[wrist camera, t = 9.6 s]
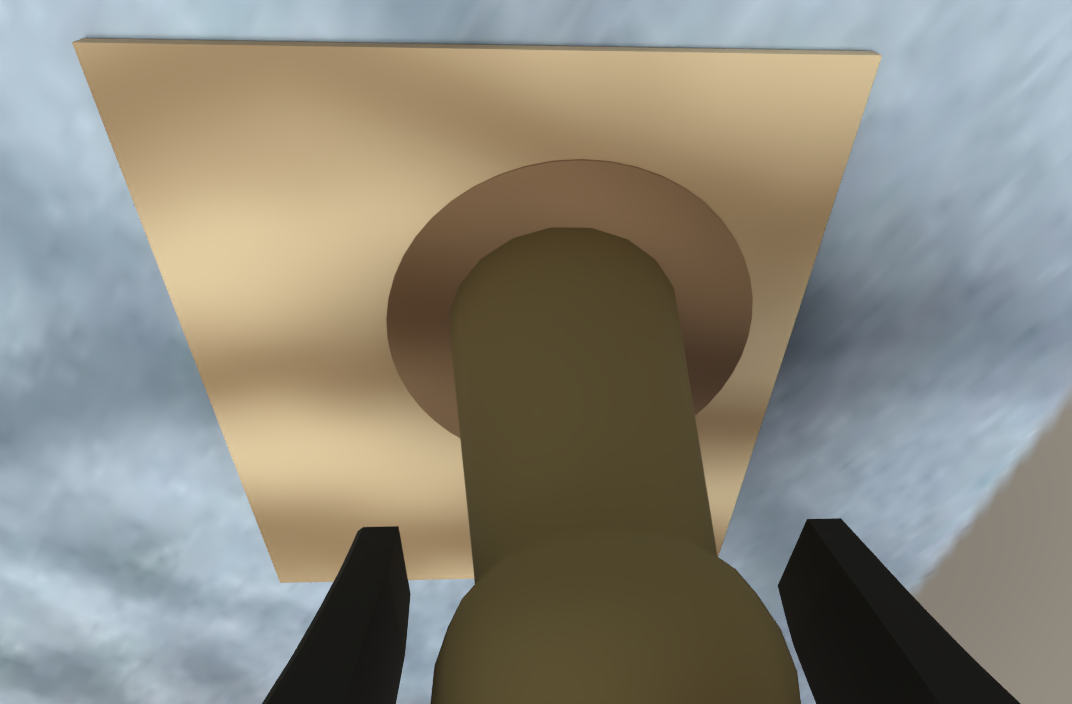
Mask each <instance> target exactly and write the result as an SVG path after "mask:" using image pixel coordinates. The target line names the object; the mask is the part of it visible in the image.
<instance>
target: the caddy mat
mask: <svg viewBox="0 0 1072 704" xmlns="http://www.w3.org/2000/svg"><path fill="white" fill-rule="evenodd" d="M72 44H73V46H74V49H75V51H76V54H77V56H78V59H79V62H80V64H81V67H82V69H83V72H84V75H85V77H86V80H87V82H88V85H89V88H90V90H91V93H92V95H93V98H94V101H95V103H96V106H97V108H98V111H99V114H100V116H101V119H102V121H103V124H104V127H105V129H106V132H107V134H108V137H109V140H110V142H111V145H112V147H113V150H114V152H115V155H116V158H117V160H118V163H119V165H120V168H121V171H122V173H123V176H124V178H125V181H126V184H127V186H128V189H129V191H130V194H131V197H132V199H133V202H134V204H135V207H136V210H137V212H138V215H139V217H140V220H141V223H142V225H143V228H144V230H145V233H146V236H147V238H148V241H149V243H150V246H151V249H152V251H153V254H154V256H155V259H156V261H157V264H158V267H159V269H160V272H161V274H162V277H163V280H164V282H165V285H166V287H167V290H168V293H169V295H170V298H171V300H172V303H173V306H174V308H175V311H176V313H177V316H178V319H179V321H180V324H181V326H182V329H183V332H184V334H185V337H186V339H187V342H188V345H189V347H190V350H191V352H192V355H193V357H194V360H195V363H196V365H197V368H198V370H199V373H200V376H201V378H202V381H203V383H204V386H205V389H206V391H207V394H208V396H209V399H210V402H211V404H212V407H213V409H214V412H215V415H216V417H217V420H218V422H219V425H220V428H221V430H222V433H223V435H224V438H225V441H226V443H227V446H228V448H229V451H230V454H231V456H232V459H233V461H234V464H235V466H236V469H237V472H238V474H239V477H240V479H241V482H242V485H243V487H244V490H245V492H246V495H247V498H248V500H249V503H250V505H251V508H252V511H253V513H254V516H255V518H256V521H257V524H258V526H259V529H260V531H261V534H262V537H263V539H264V542H265V544H266V547H267V550H268V552H269V555H270V557H271V560H272V563H273V565H274V568H275V570H276V573H277V575H278V578H279V581H280V583H286V582H333V581H334V580H335V578H336V576H337V574H338V572H339V570H340V568H341V566H342V564H343V562H344V560H345V558H346V556H347V554H348V552H349V549H350V547H351V545H352V543H353V540H354V538H355V536H356V534H357V531H359V530H360V529H361V528H362V527H388V526H399V531H400V537H401V543H402V549H403V554H404V560H405V566H406V572H407V578H408V580H426V579H473V578H474V570H473V560H472V550H471V540H470V530H469V520H468V510H467V500H466V490H465V480H464V470H463V461H462V451H461V441H460V431H459V421H458V411H457V401H456V391H455V381H454V371H453V361H452V351H451V339H450V324H449V315H450V312H451V309H452V306H453V303H454V300H455V297H456V294H457V291H458V287H459V286H460V284H461V283H462V282H463V281H464V279H465V278H466V277H467V276H468V274H469V273H470V272H471V270H472V269H473V268H474V267H475V265H476V264H477V263H478V262H479V260H480V259H482V258H483V257H485V256H486V255H488V254H489V253H491V252H492V251H494V250H495V249H497V248H498V247H500V246H502V245H503V244H505V243H506V242H508V241H509V240H511V239H512V238H516V237H519V236H523V235H526V234H530V233H533V232H537V231H540V230H544V229H547V228H550V227H567V228H594V229H597V230H600V231H603V232H606V233H609V234H613V235H616V236H619V237H622V238H625V239H628V240H629V241H631V242H632V243H633V244H635V245H636V246H638V247H639V248H640V249H642V250H643V251H644V252H646V253H647V254H648V255H650V256H651V257H653V258H654V259H655V260H656V261H657V262H658V264H659V265H660V267H661V269H662V270H663V272H664V273H665V275H666V276H667V278H668V279H669V281H670V282H671V284H672V286H673V287H674V292H675V298H676V303H677V308H678V314H679V319H680V326H681V332H682V338H683V344H684V350H685V357H686V363H687V369H688V375H689V382H690V388H691V394H692V400H693V406H694V413H695V419H696V425H697V431H698V438H699V444H700V450H701V456H702V462H703V469H704V475H705V481H706V487H707V494H708V500H709V506H710V512H711V518H712V525H713V531H714V537H715V543H716V550H717V556H718V555H719V552H720V549H721V546H722V543H723V540H724V537H725V534H726V531H727V528H728V525H729V522H730V519H731V516H732V513H733V510H734V507H735V504H736V500H737V497H738V494H739V491H740V488H741V485H742V482H743V479H744V476H745V473H746V470H747V467H748V464H749V461H750V458H751V455H752V452H753V448H754V445H755V442H756V439H757V436H758V433H759V430H760V427H761V424H762V421H763V418H764V415H765V412H766V409H767V406H768V403H769V400H770V397H771V393H772V390H773V387H774V384H775V381H776V378H777V375H778V372H779V369H780V366H781V363H782V360H783V357H784V354H785V351H786V348H787V345H788V341H789V338H790V335H791V332H792V329H793V326H794V323H795V320H796V317H797V314H798V311H799V308H800V305H801V302H802V299H803V296H804V293H805V290H806V286H807V283H808V280H809V277H810V274H811V271H812V268H813V265H814V262H815V259H816V256H817V253H818V250H819V247H820V244H821V241H822V238H823V234H824V231H825V228H826V225H827V222H828V219H829V216H830V213H831V210H832V207H833V204H834V201H835V198H836V195H837V192H838V189H839V186H840V183H841V179H842V176H843V173H844V170H845V167H846V164H847V161H848V158H849V155H850V152H851V149H852V146H853V143H854V140H855V137H856V134H857V131H858V127H859V124H860V121H861V118H862V115H863V112H864V109H865V106H866V103H867V100H868V97H869V94H870V91H871V88H872V85H873V82H874V79H875V75H876V72H877V69H878V66H879V63H880V60H881V57H882V55H880V54H878V53H876V52H874V51H835V50H774V49H713V48H652V47H591V46H530V45H469V44H408V43H348V42H287V41H226V40H165V39H104V38H82V39H80V40H77V41H74V42H72Z"/></svg>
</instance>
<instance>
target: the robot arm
mask: <svg viewBox="0 0 1072 704" xmlns="http://www.w3.org/2000/svg"><path fill="white" fill-rule="evenodd" d="M778 588H779V592H780V596H781V600H782V604H783V608H784V612H785V616H786V620H787V624H788V627H789V631H790V634H791V638H792V641H793V645H794V647H795V650H796V653H797V655H798V658H799V661H800V663H801V666H802V668H803V671H804V673H805V676H806V679H807V681H808V684H809V686H810V689H811V691H812V694H813V696H814V699H815V702H816V704H1020V703H1019V702H1018V701H1017V700H1016V699H1015V698H1014V697H1013V696H1012V695H1011V694H1010V693H1008V691H1007V690H1005V689H1004V688H1003V687H1002V686H1001V685H1000V684H999V683H998V682H997V681H996V680H995V679H994V678H993V677H992V676H991V675H990V674H989V673H988V672H987V671H986V670H984V669H983V668H982V667H981V666H980V665H979V664H978V663H977V662H976V661H975V660H974V659H973V658H972V657H971V656H970V655H969V654H968V653H967V652H966V651H965V650H964V649H963V648H962V647H961V646H960V645H959V644H958V643H957V642H956V641H955V640H954V639H953V638H952V637H951V636H950V634H948V632H947V631H946V630H944V629H943V627H942V626H941V625H940V624H939V623H938V622H937V621H936V620H935V619H934V618H933V617H932V616H931V615H930V614H929V613H928V612H927V611H926V610H925V609H924V608H923V607H922V606H921V605H920V603H919V602H918V601H917V600H916V599H915V598H914V597H913V596H912V595H911V594H910V593H909V592H908V591H907V590H906V589H905V587H904V586H903V585H902V584H901V583H900V582H899V581H898V580H897V579H896V578H895V577H894V576H893V575H892V573H891V572H890V571H889V570H888V569H887V568H886V567H885V566H884V565H883V564H882V563H881V562H880V560H879V559H878V558H877V557H876V556H875V555H874V554H873V553H872V552H871V551H870V550H869V548H868V547H867V546H866V545H865V544H864V543H863V542H862V541H861V540H860V539H859V538H858V536H857V535H856V534H855V533H854V532H853V531H852V530H851V529H850V528H849V527H848V526H847V525H846V524H845V522H844V521H843V520H842V519H807V521H806V523H805V525H804V528H803V530H802V532H801V534H800V537H799V539H798V541H797V544H796V546H795V548H794V550H793V553H792V555H791V557H790V559H789V562H788V564H787V566H786V568H785V571H784V573H783V575H782V578H781V580H780V582H779V584H778ZM409 604H410V589H409V583H408V578H407V572H406V566H405V560H404V554H403V549H402V543H401V537H400V531H399V526H388V527H362V528H361V529H360V530H359V531H357V534H356V536H355V538H354V540H353V543H352V545H351V547H350V549H349V552H348V554H347V556H346V558H345V560H344V562H343V564H342V566H341V568H340V570H339V572H338V574H337V576H336V578H335V580H334V582H333V584H332V586H331V588H330V590H329V592H328V593H327V595H326V597H325V599H324V601H323V603H322V605H321V607H320V608H319V610H318V612H317V614H316V615H315V617H314V619H313V621H312V622H311V624H310V626H309V628H308V629H307V631H306V633H305V635H304V636H303V638H302V640H301V642H300V643H299V645H298V647H297V649H296V650H295V652H294V654H293V655H292V657H291V659H290V660H289V662H288V664H287V665H286V667H285V668H284V670H283V671H282V673H281V675H280V676H279V678H278V679H277V681H276V682H275V684H274V686H273V687H272V689H271V690H270V692H269V693H268V695H267V697H266V698H265V700H264V701H263V703H262V704H396V700H397V694H398V689H399V684H400V678H401V673H402V668H403V662H404V657H405V648H406V638H407V627H408V615H409Z"/></svg>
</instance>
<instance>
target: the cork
mask: <svg viewBox="0 0 1072 704" xmlns="http://www.w3.org/2000/svg"><path fill="white" fill-rule="evenodd" d="M449 324H450V339H451V351H452V361H453V371H454V381H455V391H456V401H457V411H458V421H459V431H460V441H461V451H462V461H463V470H464V480H465V490H466V500H467V510H468V520H469V530H470V540H471V550H472V560H473V570H474V580H475V585H474V586H473V587H472V588H471V590H470V591H469V592H468V593H467V594H466V595H465V596H464V598H463V599H462V600H461V602H460V604H459V606H458V608H457V610H456V612H455V614H454V616H453V618H452V620H451V622H450V624H449V626H448V629H447V632H446V634H445V637H444V640H443V643H442V646H441V649H440V652H439V655H438V658H437V661H436V663H435V668H434V677H433V686H432V696H431V704H801V700H800V692H799V684H798V675H797V670H796V668H795V665H794V663H793V660H792V657H791V655H790V652H789V650H788V647H787V644H786V642H785V639H784V637H783V634H782V631H781V629H780V628H779V626H778V625H777V623H776V622H775V620H774V619H773V617H772V616H771V614H770V613H769V611H768V610H767V608H766V607H765V605H764V604H763V602H762V601H761V599H760V598H759V596H758V595H757V594H756V592H755V591H754V590H753V589H752V588H751V587H750V585H749V584H748V583H747V582H746V581H745V580H744V578H743V577H742V576H741V575H740V574H739V573H738V571H737V570H736V569H734V568H733V567H731V566H730V565H729V564H727V563H726V562H724V561H723V560H721V559H720V558H718V556H717V550H716V543H715V537H714V531H713V525H712V518H711V512H710V506H709V500H708V494H707V487H706V481H705V475H704V469H703V462H702V456H701V450H700V444H699V438H698V431H697V425H696V419H695V413H694V406H693V400H692V394H691V388H690V382H689V375H688V369H687V363H686V357H685V350H684V344H683V338H682V332H681V326H680V319H679V314H678V308H677V303H676V298H675V292H674V287H673V286H672V284H671V282H670V281H669V279H668V278H667V276H666V275H665V273H664V272H663V270H662V269H661V267H660V265H659V264H658V262H657V261H656V260H655V259H654V258H653V257H651V256H650V255H648V254H647V253H646V252H644V251H643V250H642V249H640V248H639V247H638V246H636V245H635V244H633V243H632V242H631V241H629V240H628V239H625V238H622V237H619V236H616V235H613V234H609V233H606V232H603V231H600V230H597V229H594V228H567V227H550V228H547V229H544V230H540V231H537V232H533V233H530V234H526V235H523V236H519V237H516V238H512V239H511V240H509V241H508V242H506V243H505V244H503V245H502V246H500V247H498V248H497V249H495V250H494V251H492V252H491V253H489V254H488V255H486V256H485V257H483V258H482V259H480V260H479V262H478V263H477V264H476V265H475V267H474V268H473V269H472V270H471V272H470V273H469V274H468V276H467V277H466V278H465V279H464V281H463V282H462V283H461V284H460V286H459V287H458V291H457V294H456V297H455V300H454V303H453V306H452V309H451V312H450V315H449Z"/></svg>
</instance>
